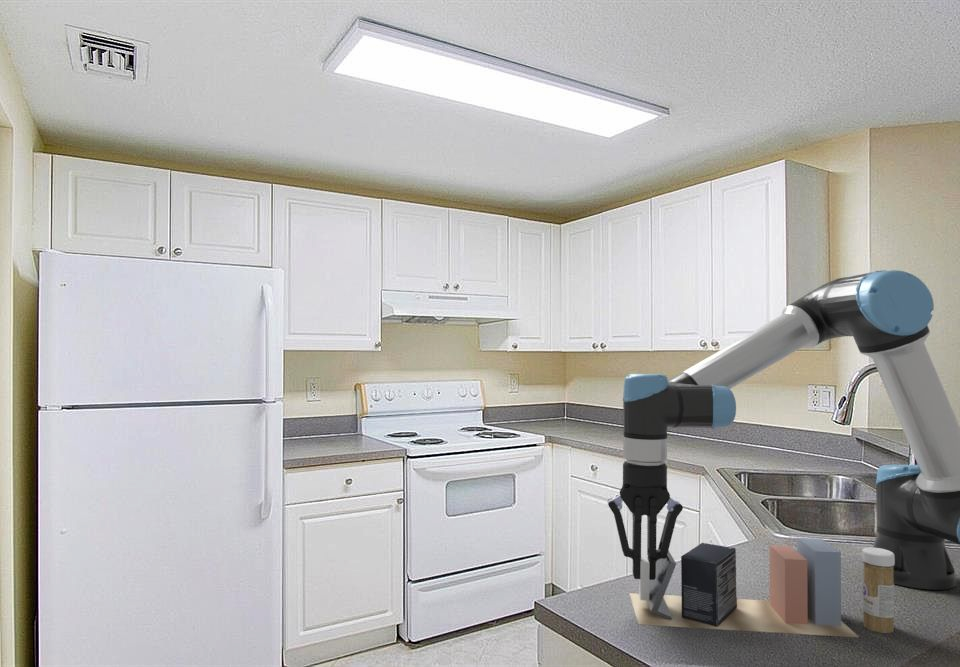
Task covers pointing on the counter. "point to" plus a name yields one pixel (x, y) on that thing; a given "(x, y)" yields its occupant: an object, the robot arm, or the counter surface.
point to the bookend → (661, 586)
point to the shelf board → (735, 618)
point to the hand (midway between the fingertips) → (643, 597)
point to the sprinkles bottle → (878, 589)
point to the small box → (708, 583)
